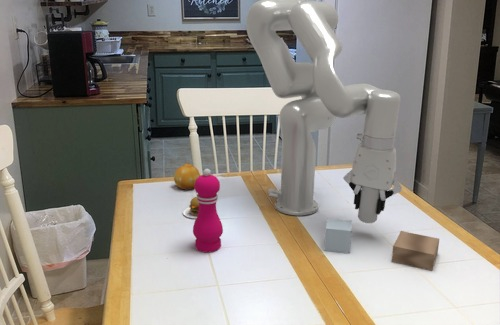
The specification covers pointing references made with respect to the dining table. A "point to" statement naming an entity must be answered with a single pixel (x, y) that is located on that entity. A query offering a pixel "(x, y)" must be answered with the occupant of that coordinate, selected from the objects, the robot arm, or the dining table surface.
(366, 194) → the beverage can
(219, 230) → the pepper mill
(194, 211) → the hamburger
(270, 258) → the dining table surface
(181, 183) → the fruit
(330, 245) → the grey-blue block
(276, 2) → the robot arm
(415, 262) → the walnut block
